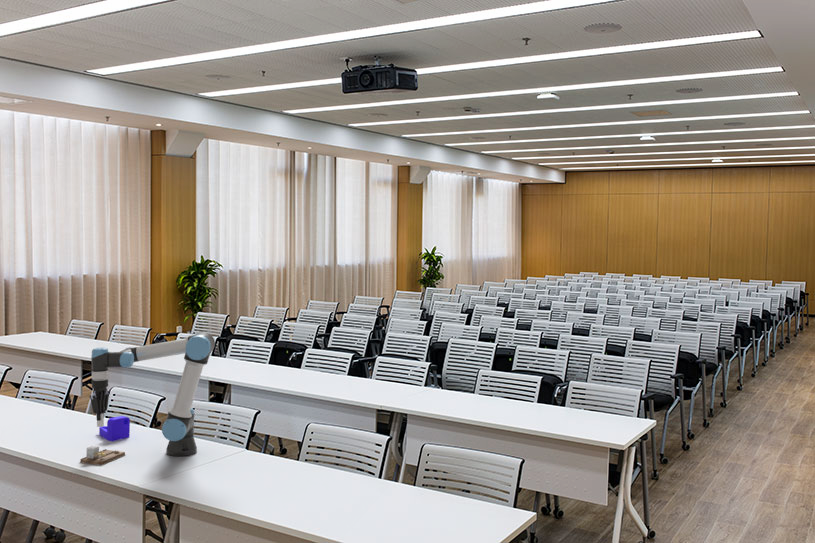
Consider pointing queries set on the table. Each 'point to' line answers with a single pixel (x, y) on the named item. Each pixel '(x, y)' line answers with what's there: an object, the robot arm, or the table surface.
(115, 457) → the wooden knob panel
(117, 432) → the bracket
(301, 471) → the table surface
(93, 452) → the slider with brass pointer
